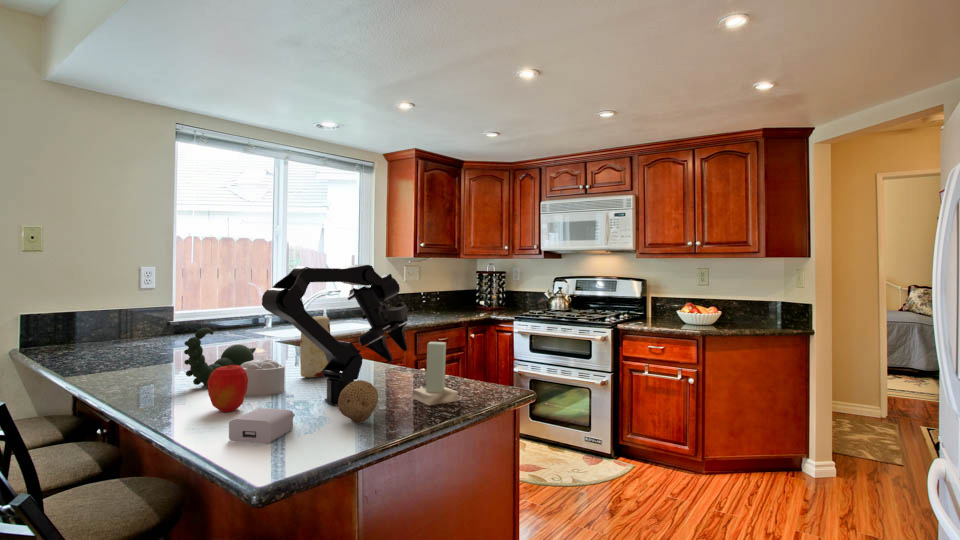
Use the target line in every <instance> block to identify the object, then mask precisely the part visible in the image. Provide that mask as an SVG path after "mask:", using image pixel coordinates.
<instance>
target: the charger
mask: <svg viewBox="0 0 960 540" xmlns="http://www.w3.org/2000/svg"><path fill="white" fill-rule="evenodd" d="M295 416H296V415H295V413H294V412H293V411H292V410H289V409H286V408H285V409H283V408H269V407H268V408H266V407H265V408H264V407H259V408H255V409H254V410H253V409H252V411H249V412H246V413H244V414H243V415H242V414H241V415H240V416H237V417H236V418H233V419H231V420H229V422H228V440H229V441H231V442H236V443H237V442H239V443H250V444H251V443H254V444H267V445H268V444H270V443H272V442H273V441H275V440H276V439H278V438H280V437H282V436H283V435H286V434H287V433H289V432H290V431H292V430H293V429H294V417H295Z"/></svg>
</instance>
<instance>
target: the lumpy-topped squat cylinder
mask: <svg viewBox="0 0 960 540" xmlns="http://www.w3.org/2000/svg"><path fill="white" fill-rule="evenodd" d="M240 366H241V367H242V368H243V369H244V370H245V371H246V372H247V376H248V387H247V392H246V395H245V396H271V395H278V394H282V393H284V392H285V378H286V377H285V369H286V367H285V365H284V364H280V363H279V362H278V361H276V360H273V359H271V358H267V359H265V360H264V361H261V360H259V359H254V360H252V361H250V362H245V363H243V364H241V365H240Z"/></svg>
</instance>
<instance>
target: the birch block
mask: <svg viewBox="0 0 960 540" xmlns="http://www.w3.org/2000/svg"><path fill="white" fill-rule="evenodd" d="M458 395H459V392H458V390H454V389H451V388H449V387H446V386H445V388H444V391H443V392H442V393H438V392H426V387H419V388H413V389H412V399H414V400H415V401H418V402H420V403H422V404H424V405H426V406H434V405H440V404H447V403H452V402H458V398H459V397H458Z"/></svg>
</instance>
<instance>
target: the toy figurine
mask: <svg viewBox="0 0 960 540" xmlns="http://www.w3.org/2000/svg"><path fill="white" fill-rule="evenodd" d="M208 334H210V335H214V331H213V329H211V328H209V327H202V328H200V329H198V330H196V332H195V334H194V336H193V337H190V338H189V339H188V340H186V341H184V343H183V344H184V345H185V346H187V347H188V348H187V349H184V351H183V353H184V355H188V359H185V360H184V362H183V363H184V364H185V365H189V367H190V369H189V370H187V371H186V373H185V375H186V377H188V378H189V377H192V376H193V377H194V378H193V382H192V383H193V384H194V385H195V386H196V385H197V386H199V385H200V384H203V386H205V387H208V385H207V382H208V379H209V377H210V374H211V373H212V372H213V371H214V370H215V369H216V368H219V367H223V366H228V365H239V366H240V365H241V364H243V363H245V362H250V361H252V360H255V357H254V352H256V349H257V348H256V347H252V348H251V347H250V348H249V347H248V346H246V345H244V344H232V345H231V346H228V347H227V348H226V349H224V351H223V352H222V354H221V355H220V358H218V359H217V360H215V361H214V363H211V364H208V362H206V357H205V355H204V349H203V347H202V346H201V345H202V341H201V340H202V339H203V338H205V337H206V335H208ZM229 363H230V364H229Z"/></svg>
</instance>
